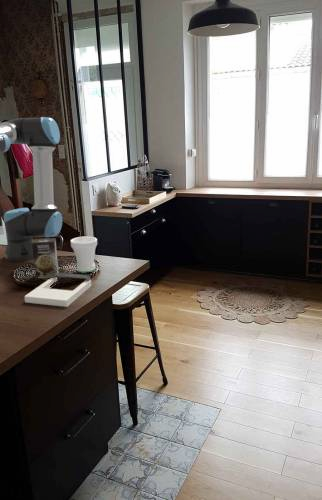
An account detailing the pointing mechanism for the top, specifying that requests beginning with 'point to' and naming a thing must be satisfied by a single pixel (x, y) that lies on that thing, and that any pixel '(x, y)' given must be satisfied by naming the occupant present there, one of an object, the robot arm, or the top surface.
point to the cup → (84, 252)
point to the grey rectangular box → (45, 257)
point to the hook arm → (71, 275)
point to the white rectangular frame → (55, 294)
